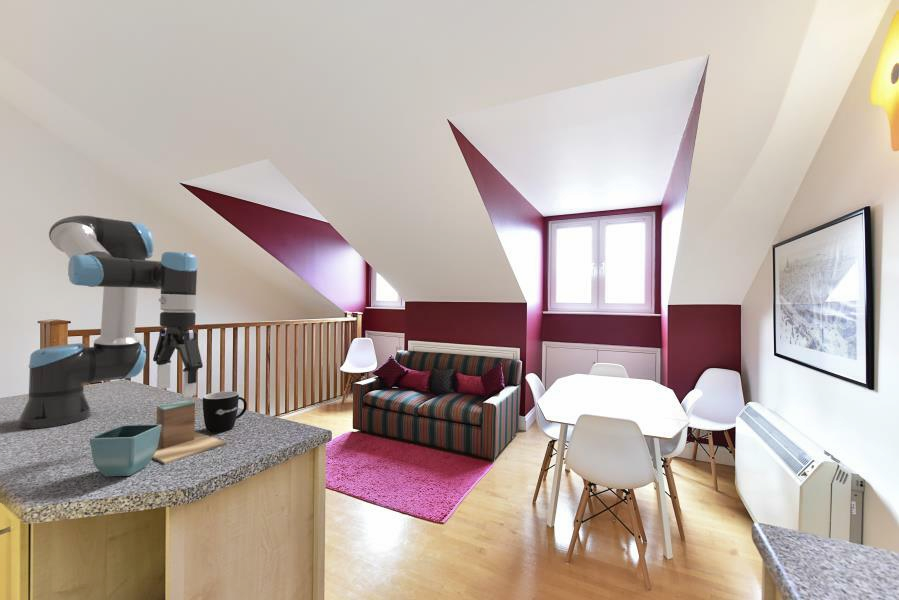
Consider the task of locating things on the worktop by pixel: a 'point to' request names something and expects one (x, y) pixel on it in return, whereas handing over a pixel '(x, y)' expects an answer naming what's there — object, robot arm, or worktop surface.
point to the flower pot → (125, 449)
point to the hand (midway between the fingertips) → (176, 392)
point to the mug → (221, 410)
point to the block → (176, 423)
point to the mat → (187, 448)
